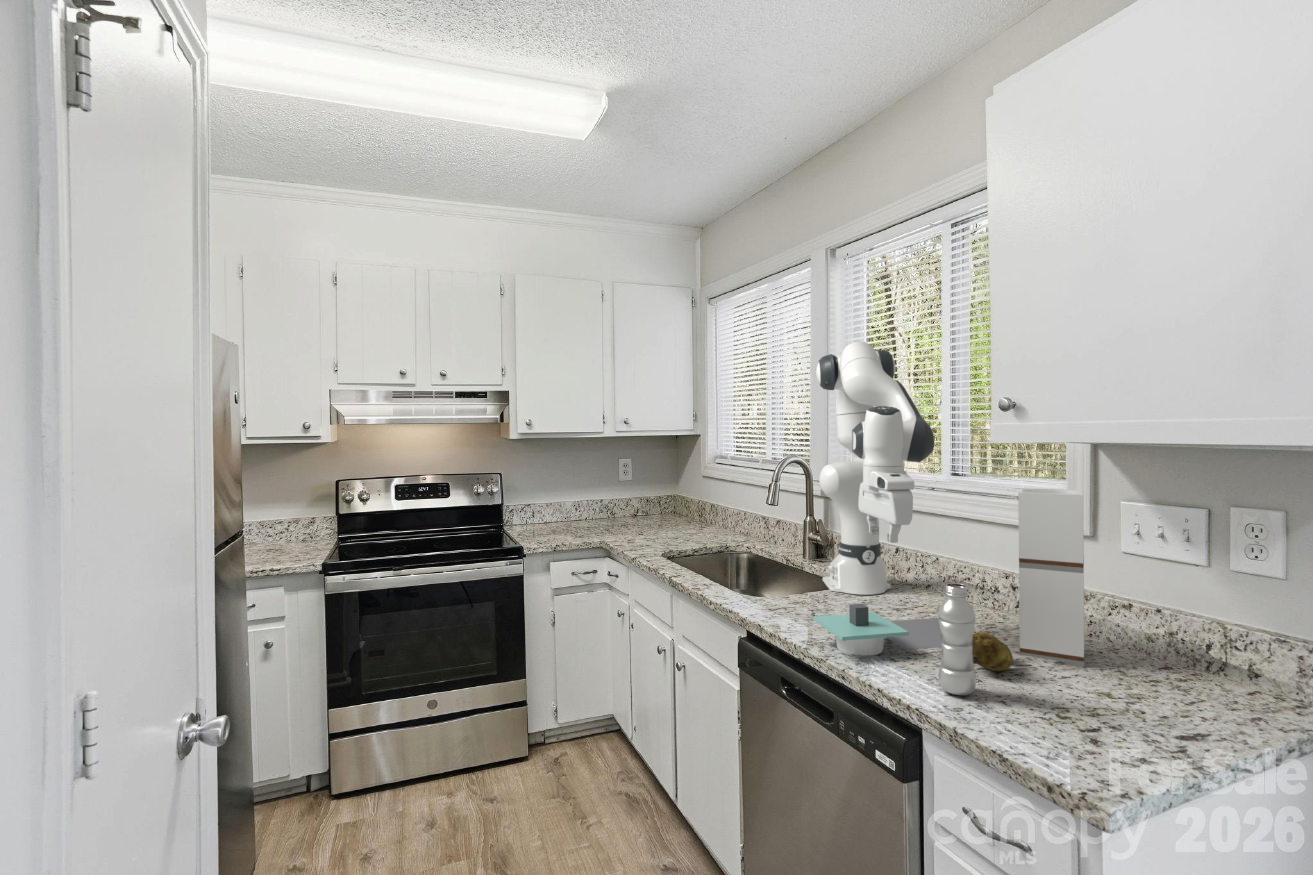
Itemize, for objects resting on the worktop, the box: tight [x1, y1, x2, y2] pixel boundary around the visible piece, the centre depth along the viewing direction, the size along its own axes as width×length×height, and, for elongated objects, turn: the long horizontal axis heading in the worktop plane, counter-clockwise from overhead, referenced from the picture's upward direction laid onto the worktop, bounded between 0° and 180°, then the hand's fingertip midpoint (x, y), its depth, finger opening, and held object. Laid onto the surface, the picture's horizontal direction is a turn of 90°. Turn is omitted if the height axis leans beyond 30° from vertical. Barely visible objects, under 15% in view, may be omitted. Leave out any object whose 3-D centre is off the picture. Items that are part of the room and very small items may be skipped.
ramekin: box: [834, 635, 886, 657], centre depth 146 cm, size 11×11×5 cm
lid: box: [813, 603, 909, 641], centre depth 146 cm, size 15×15×5 cm
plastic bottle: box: [937, 582, 977, 696], centre depth 122 cm, size 6×7×20 cm
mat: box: [885, 617, 942, 651], centre depth 155 cm, size 20×20×1 cm
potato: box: [972, 631, 1014, 672], centre depth 133 cm, size 8×13×8 cm, turn 116°
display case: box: [1017, 487, 1086, 668], centre depth 141 cm, size 11×11×35 cm
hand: (883, 538), depth 150 cm, fingers open, 8 cm apart
